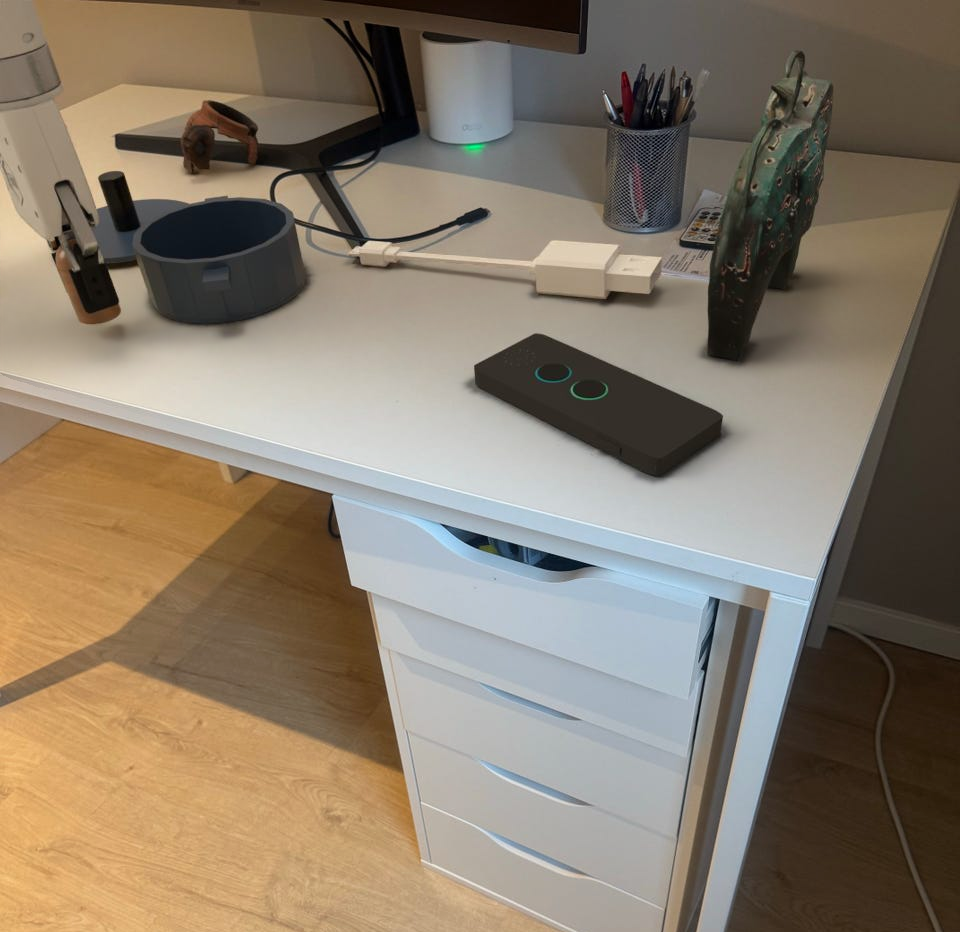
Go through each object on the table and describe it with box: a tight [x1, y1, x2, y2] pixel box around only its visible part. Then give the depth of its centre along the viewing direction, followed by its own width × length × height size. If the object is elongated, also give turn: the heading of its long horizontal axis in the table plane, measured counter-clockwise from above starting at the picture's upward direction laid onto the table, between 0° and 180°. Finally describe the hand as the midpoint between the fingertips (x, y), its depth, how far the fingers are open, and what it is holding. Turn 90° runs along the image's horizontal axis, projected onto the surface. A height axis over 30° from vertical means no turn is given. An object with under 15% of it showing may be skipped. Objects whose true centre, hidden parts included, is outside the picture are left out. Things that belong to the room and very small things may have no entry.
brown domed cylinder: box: [55, 238, 122, 326], centre depth 83 cm, size 4×4×7 cm
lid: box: [55, 170, 190, 265], centre depth 100 cm, size 17×17×7 cm
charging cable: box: [348, 239, 663, 300], centre depth 89 cm, size 5×32×3 cm, turn 67°
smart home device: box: [473, 332, 724, 477], centre depth 72 cm, size 8×2×20 cm
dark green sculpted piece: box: [706, 49, 834, 361], centre depth 75 cm, size 20×6×20 cm, turn 152°
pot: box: [132, 195, 306, 325], centre depth 90 cm, size 16×21×6 cm
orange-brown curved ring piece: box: [180, 99, 260, 175], centre depth 116 cm, size 12×10×8 cm
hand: (93, 297), depth 84 cm, fingers closed on brown domed cylinder, 4 cm apart
